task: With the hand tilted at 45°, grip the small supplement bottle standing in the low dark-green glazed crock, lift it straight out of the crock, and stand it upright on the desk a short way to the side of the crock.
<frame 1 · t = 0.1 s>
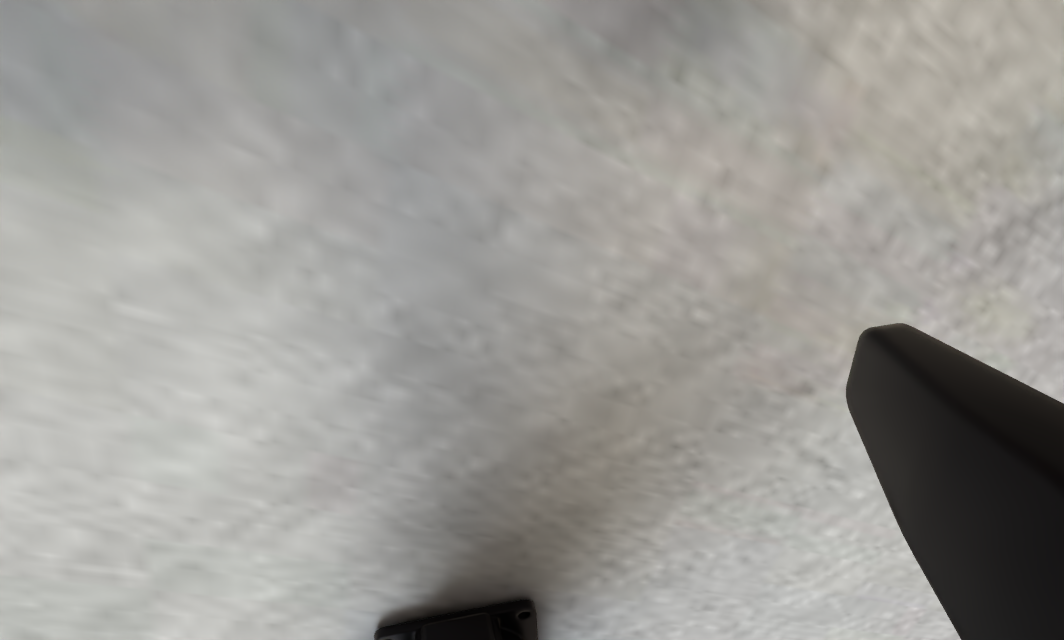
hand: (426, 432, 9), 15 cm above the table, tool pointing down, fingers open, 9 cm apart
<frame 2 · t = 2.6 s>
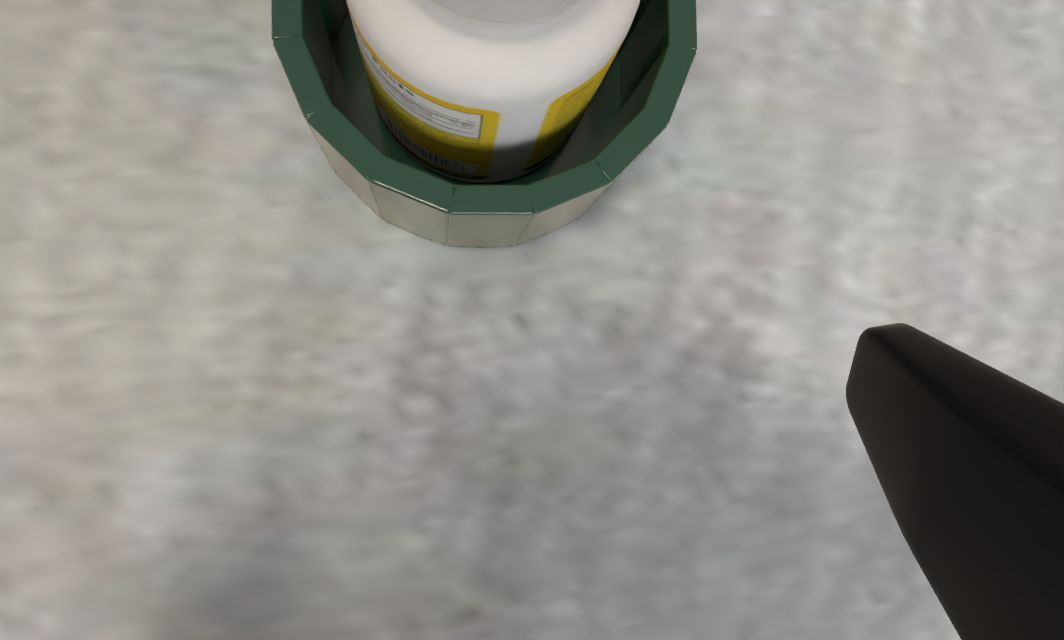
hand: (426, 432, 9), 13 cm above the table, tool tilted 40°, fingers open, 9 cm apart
supplement bottle: (478, 81, 22), resting on crock
crock: (478, 83, 22), on the table
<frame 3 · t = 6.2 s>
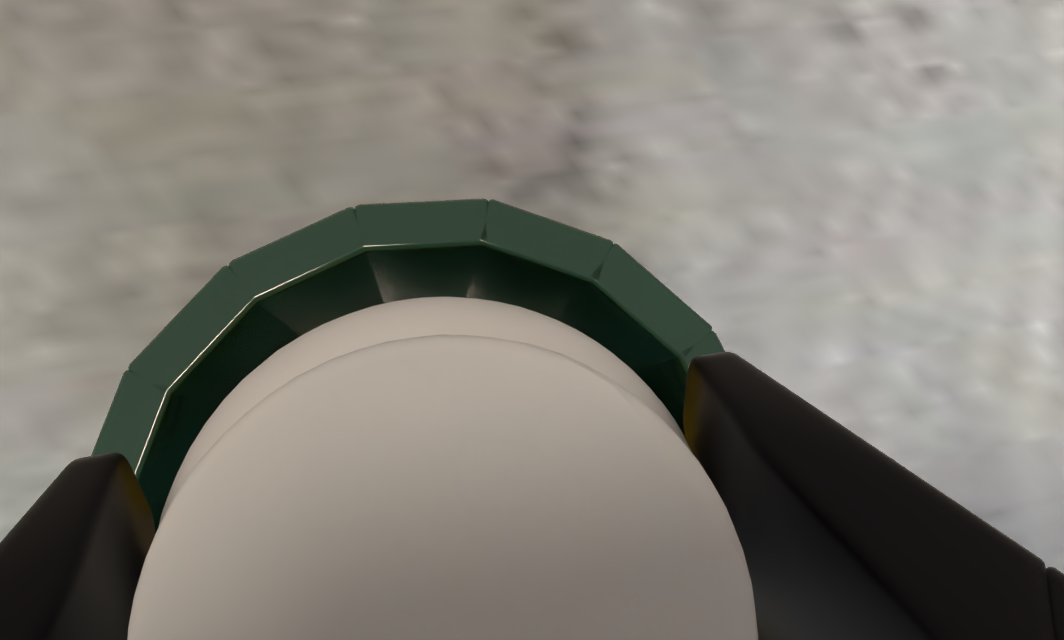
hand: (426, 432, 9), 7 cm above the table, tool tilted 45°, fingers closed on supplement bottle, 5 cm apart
supplement bottle: (438, 508, 15), resting on crock, touching gripper
crock: (438, 507, 15), on the table
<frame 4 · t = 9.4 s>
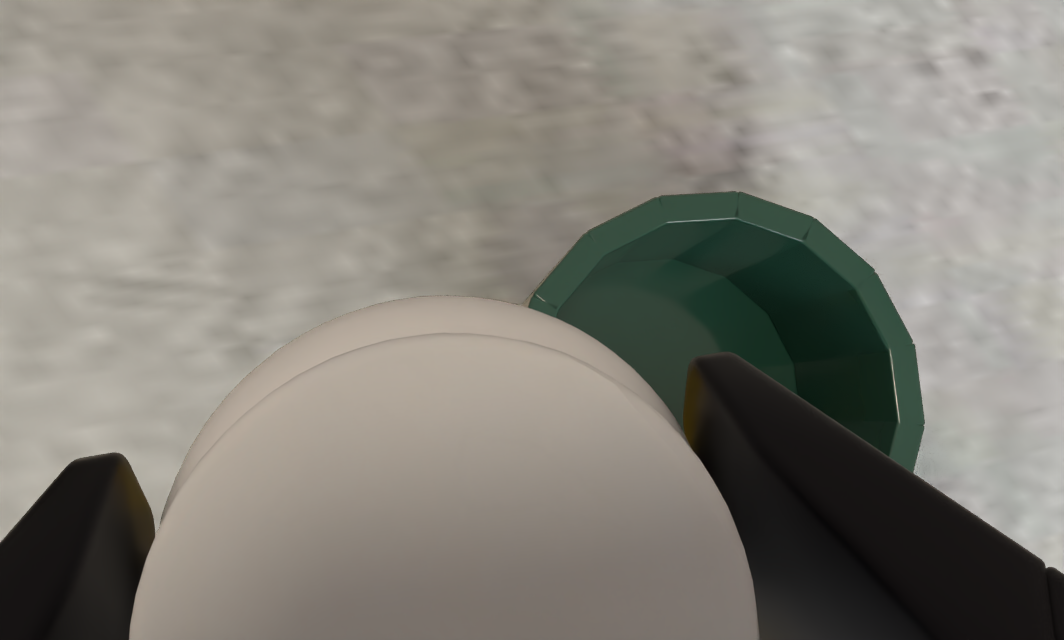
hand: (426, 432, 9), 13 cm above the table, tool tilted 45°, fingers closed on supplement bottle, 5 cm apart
supplement bottle: (439, 507, 15), point 6 cm above the table, touching gripper
crock: (655, 404, 22), on the table
when the fingers open (7 cm above the table, at t = 13.0 s): supplement bottle stays where it is, on the table.
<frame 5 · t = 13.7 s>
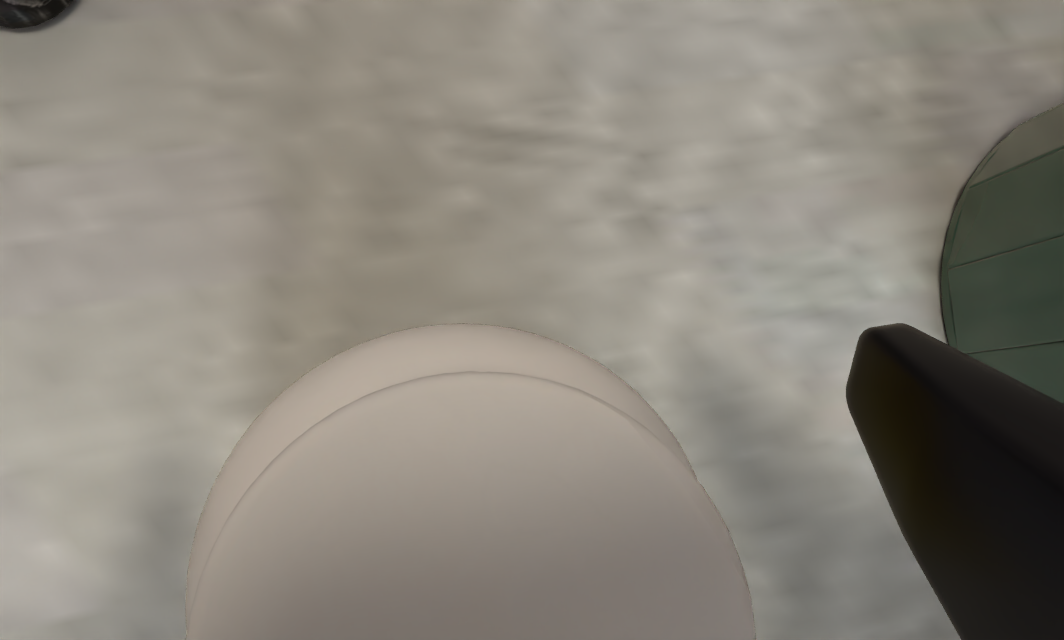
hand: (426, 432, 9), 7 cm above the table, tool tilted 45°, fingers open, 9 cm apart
supplement bottle: (444, 515, 16), on the table
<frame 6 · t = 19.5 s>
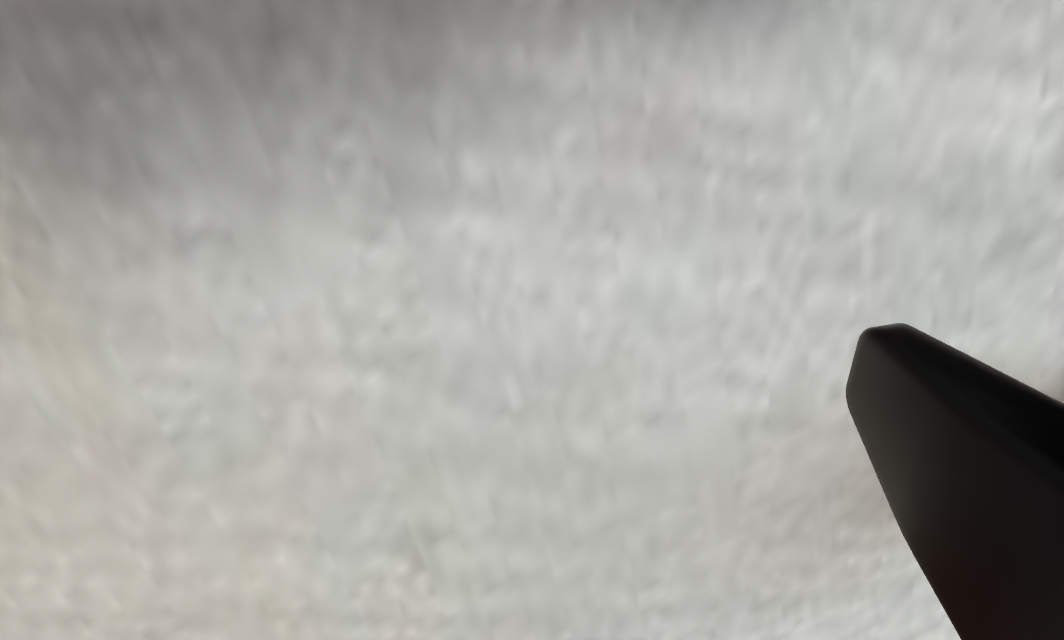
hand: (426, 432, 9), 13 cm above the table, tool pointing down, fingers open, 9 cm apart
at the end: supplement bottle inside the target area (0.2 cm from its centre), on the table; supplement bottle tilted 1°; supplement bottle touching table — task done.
